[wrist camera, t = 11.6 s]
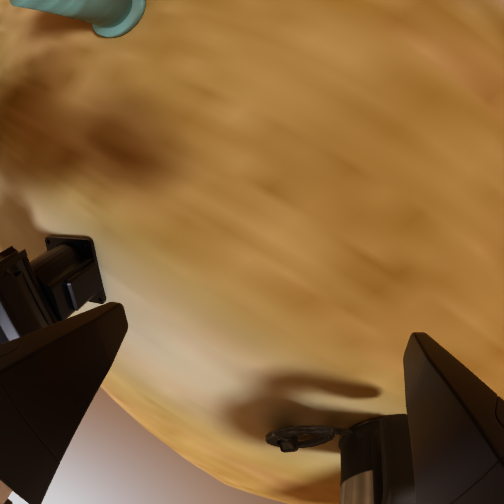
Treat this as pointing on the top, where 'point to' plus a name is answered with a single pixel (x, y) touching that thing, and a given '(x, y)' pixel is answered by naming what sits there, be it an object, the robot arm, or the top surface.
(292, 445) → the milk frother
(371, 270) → the top surface
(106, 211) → the top surface
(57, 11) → the tethered block
